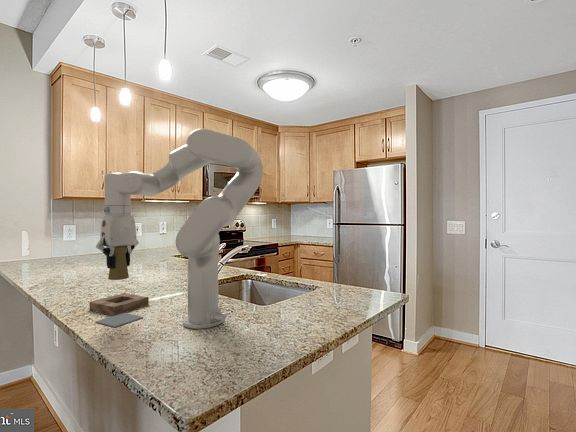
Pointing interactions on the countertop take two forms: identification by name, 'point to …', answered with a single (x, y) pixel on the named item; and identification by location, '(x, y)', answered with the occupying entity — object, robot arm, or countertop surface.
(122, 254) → the cork
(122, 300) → the socket block
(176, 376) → the countertop surface
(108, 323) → the rubber mat
